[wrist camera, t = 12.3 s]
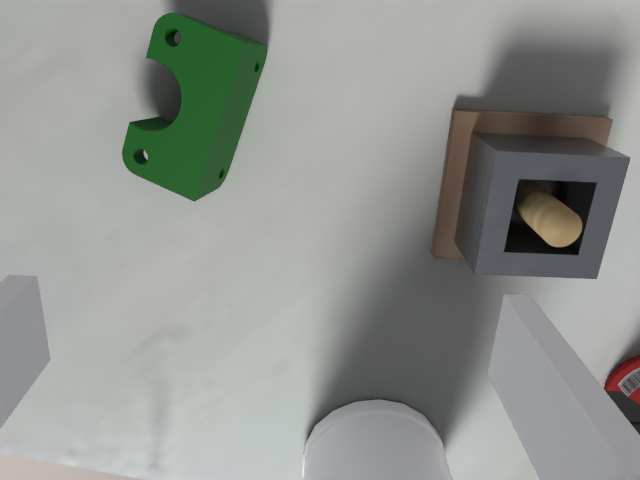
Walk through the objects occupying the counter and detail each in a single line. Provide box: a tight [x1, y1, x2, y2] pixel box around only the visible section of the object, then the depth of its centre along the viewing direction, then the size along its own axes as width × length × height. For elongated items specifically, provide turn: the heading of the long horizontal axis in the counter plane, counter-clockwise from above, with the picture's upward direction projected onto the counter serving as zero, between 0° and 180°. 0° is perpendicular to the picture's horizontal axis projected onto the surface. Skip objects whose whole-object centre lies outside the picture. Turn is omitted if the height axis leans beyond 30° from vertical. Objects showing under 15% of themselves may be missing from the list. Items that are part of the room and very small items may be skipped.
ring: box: [454, 132, 630, 279], centre depth 41 cm, size 9×9×6 cm
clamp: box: [122, 13, 267, 201], centre depth 39 cm, size 12×6×9 cm, turn 153°
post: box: [431, 109, 613, 259], centre depth 40 cm, size 12×12×9 cm
